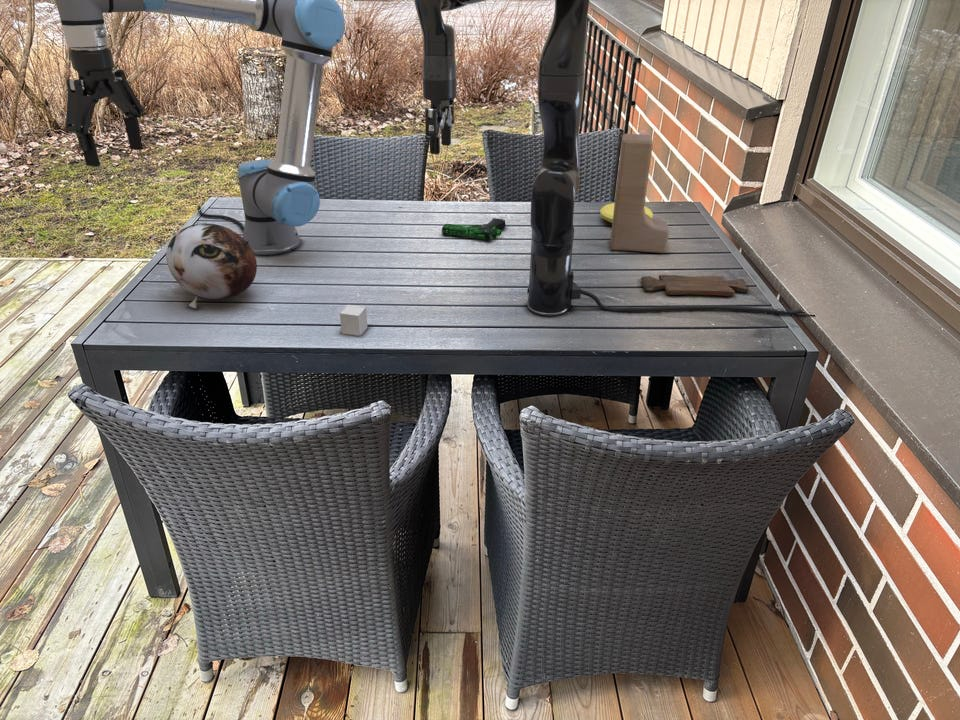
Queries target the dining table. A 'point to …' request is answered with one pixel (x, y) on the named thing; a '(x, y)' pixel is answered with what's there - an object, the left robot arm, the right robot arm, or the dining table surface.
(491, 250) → the dining table surface
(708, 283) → the dark wooden board
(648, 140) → the decorative block
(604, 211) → the yellow rounded disc
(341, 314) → the block
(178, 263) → the cat face balloon
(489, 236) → the handgun
